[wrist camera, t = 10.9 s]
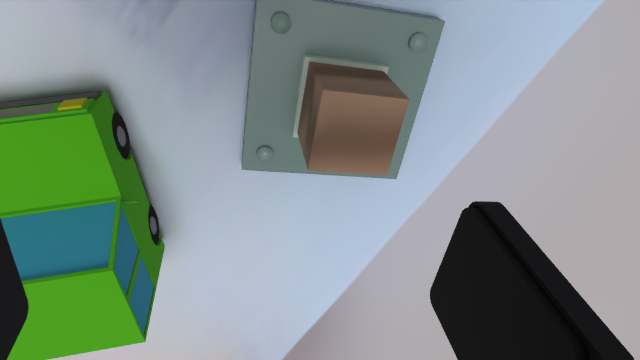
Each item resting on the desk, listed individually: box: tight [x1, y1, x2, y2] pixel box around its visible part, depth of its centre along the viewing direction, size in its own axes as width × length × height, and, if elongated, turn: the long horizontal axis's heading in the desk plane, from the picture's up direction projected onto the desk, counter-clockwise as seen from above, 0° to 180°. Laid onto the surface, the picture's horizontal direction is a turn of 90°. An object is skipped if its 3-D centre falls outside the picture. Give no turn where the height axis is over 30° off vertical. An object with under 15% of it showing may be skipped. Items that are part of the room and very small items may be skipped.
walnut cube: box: [297, 62, 410, 176], centre depth 26 cm, size 5×5×5 cm
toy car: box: [0, 91, 164, 360], centre depth 26 cm, size 10×13×10 cm
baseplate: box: [242, 0, 445, 179], centre depth 29 cm, size 12×12×2 cm
